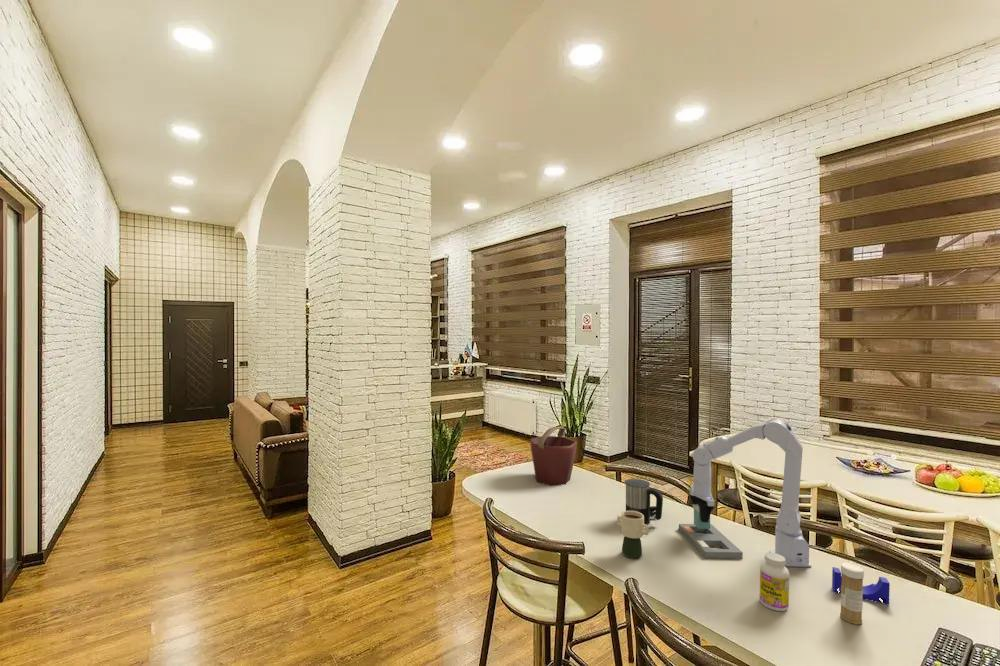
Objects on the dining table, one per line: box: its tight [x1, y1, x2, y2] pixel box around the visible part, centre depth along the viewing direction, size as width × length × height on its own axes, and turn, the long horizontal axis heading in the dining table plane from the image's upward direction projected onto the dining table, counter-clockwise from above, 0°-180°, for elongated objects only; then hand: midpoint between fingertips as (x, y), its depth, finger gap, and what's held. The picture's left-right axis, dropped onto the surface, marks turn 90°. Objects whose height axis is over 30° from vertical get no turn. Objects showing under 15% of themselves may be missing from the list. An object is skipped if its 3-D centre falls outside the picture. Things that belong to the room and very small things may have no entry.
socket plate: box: [678, 523, 744, 559], centre depth 156 cm, size 21×12×2 cm, turn 1°
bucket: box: [529, 426, 578, 486], centre depth 219 cm, size 24×22×25 cm
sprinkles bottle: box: [839, 562, 865, 625], centre depth 115 cm, size 5×5×14 cm
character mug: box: [616, 510, 649, 558], centre depth 146 cm, size 11×7×13 cm, turn 45°
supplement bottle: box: [758, 552, 790, 612], centre depth 121 cm, size 7×7×13 cm
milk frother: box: [624, 478, 664, 526], centre depth 176 cm, size 14×16×15 cm
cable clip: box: [831, 566, 891, 605], centre depth 126 cm, size 12×4×6 cm, turn 63°
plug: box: [692, 504, 711, 529], centre depth 161 cm, size 5×5×7 cm
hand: (701, 518), depth 161 cm, fingers closed on plug, 4 cm apart
